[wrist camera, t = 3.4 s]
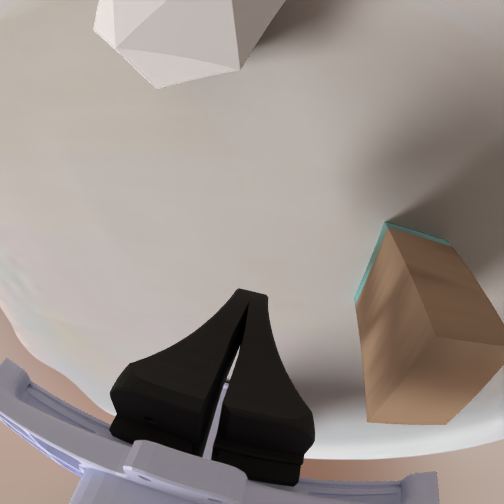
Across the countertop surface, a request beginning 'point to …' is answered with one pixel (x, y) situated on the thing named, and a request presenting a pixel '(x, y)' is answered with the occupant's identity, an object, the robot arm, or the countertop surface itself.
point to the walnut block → (423, 330)
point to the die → (184, 35)
